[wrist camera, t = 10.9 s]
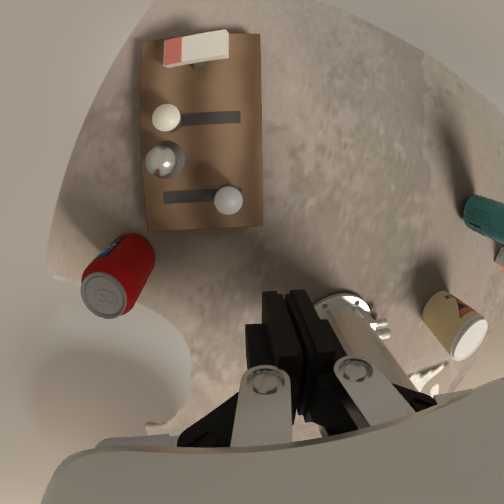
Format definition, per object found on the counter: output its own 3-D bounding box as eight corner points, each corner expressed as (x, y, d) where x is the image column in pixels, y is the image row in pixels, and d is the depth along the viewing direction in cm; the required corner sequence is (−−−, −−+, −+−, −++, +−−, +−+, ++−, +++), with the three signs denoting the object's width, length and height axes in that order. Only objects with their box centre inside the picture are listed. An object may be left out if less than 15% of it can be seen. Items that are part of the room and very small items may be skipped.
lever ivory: (184, 107, 28) (179, 102, 24) (185, 132, 29) (180, 129, 25) (159, 110, 27) (151, 105, 24) (160, 134, 29) (152, 132, 25)
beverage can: (113, 227, 35) (74, 260, 24) (159, 236, 36) (134, 275, 25) (111, 271, 37) (77, 315, 26) (154, 281, 38) (131, 330, 27)
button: (177, 144, 28) (174, 144, 27) (178, 173, 30) (175, 175, 28) (149, 147, 28) (144, 147, 26) (151, 175, 29) (146, 177, 27)
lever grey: (240, 182, 31) (242, 186, 28) (241, 206, 32) (243, 214, 29) (214, 183, 31) (213, 187, 28) (215, 207, 32) (214, 215, 29)
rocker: (228, 33, 23) (224, 28, 21) (228, 58, 24) (224, 54, 22) (169, 44, 24) (163, 40, 23) (168, 68, 25) (162, 65, 24)
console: (257, 42, 28) (261, 28, 24) (259, 220, 37) (264, 230, 32) (148, 49, 27) (138, 37, 23) (153, 225, 36) (144, 236, 31)
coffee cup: (458, 293, 46) (494, 323, 35) (435, 330, 49) (466, 364, 37) (436, 280, 44) (476, 312, 33) (410, 322, 46) (444, 359, 35)
